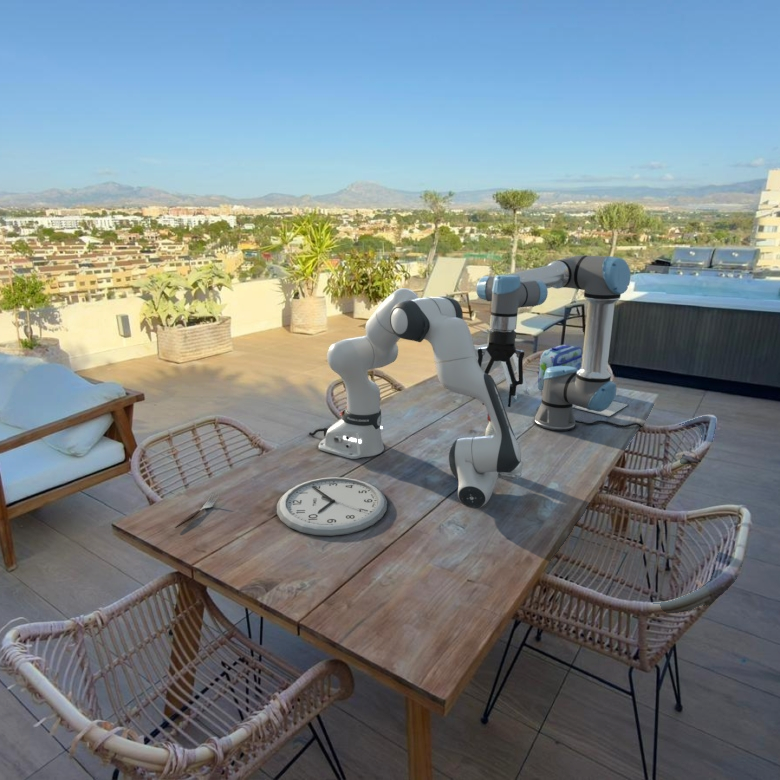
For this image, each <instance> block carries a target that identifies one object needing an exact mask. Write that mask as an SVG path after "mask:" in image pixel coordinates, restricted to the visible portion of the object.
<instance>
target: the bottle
mask: <svg viewBox="0 0 780 780" xmlns="http://www.w3.org/2000/svg"><path fill="white" fill-rule="evenodd" d="M494 434H495V431H494V428H493V426H492V423H491V422H490V421H488V424H487V426H486V428H485V435H484V436H490V435H494Z"/></svg>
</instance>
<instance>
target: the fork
mask: <svg viewBox="0 0 780 780" xmlns="http://www.w3.org/2000/svg"><path fill="white" fill-rule="evenodd" d="M219 496H220V494H218V493H213V492H212V493H211V494H210V497H208V500H207V501H206V502H205V503H204V504H203V505H202V507H201V508H200V509H198V510H196V511H194V512H193V513H191V514H189V515H188V516H187V517H185V518H184V519H183V520H182V521H181V522H179V523H178V524H177V525H175V527H174V528H175V529H177V528H179V527H180V526H182V525H184V524H185V523H187V522H189V521H190V520H192V519H194V517H196V516H197V515H198V514H199V513H201V511H203V510H204V509H210V508H212V507H213V506H214V505H215V504H216V502H217V500H218V498H219Z"/></svg>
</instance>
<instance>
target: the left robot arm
mask: <svg viewBox="0 0 780 780" xmlns="http://www.w3.org/2000/svg"><path fill="white" fill-rule="evenodd" d="M463 317H464V312H463V308H462V306H461V304H460V303H459V301H458V300H456V299H455V298H452V297H449V296H426V297H419V296H418V294H417V293H416V292H414V291H413V290H412V289H410V288H405V287H402V288H398V289H396V290H395V291H393V292H391V294H390V295H388V296H387V297H386V298H385V299H384V300H383V301H381V303H380V305H379V306H377V308H376V309H375V311H374V312H373V313H372V314H371V316H370V317H369V318H368V319H367V321H366V323H365V326H364V327H365V335H363V336H358V337H350V338H344V339H341V340H339V341H337V342H334V343H332V344H330V346H329V348H328V349H327V353H326V360H327V364H328V366H329V367H330V369H331V370H332V371H333V372H334V373H335V374H336V375H338V376H339V378H341V379H342V382H343V384H344V387H345V395H346V406H345V408H343V409H342V411H341V412H340V413H339V414H340V415H339V417H342V418H340V419H339V420H337V421H336V422H335V423H333V424H328V425H327V426H325V427H323V428H316V429H314V430H313V432H312V431H311V432H309V433H308V435H309V436H311V437H313V436H315V435H316V434H317V433H318V432H323V437H324V438H323V439H321V441H320V442H319V443H318V451H322V452H326V453H328V454H333V455H336V456H339V457H343V458H347V459H350V460H358V459H360V458H367V457H369V458H370V457H374V456H377V455H380V454H381V453H382V452H384V450H385V446H384V442H383V438H382V432H381V430H383V426H382V409H381V389H380V387H379V386H378V384H377V383H376V382H374V381H373V380H370V379H369V375H368V371H370V370H375V369H380V368H383V367H386V366H389V365H391V364H392V363H394V362H395V361H396V360H397V358H398V356H399V346H398V342H399V340H400V339H403V340H406V341H412V342H416V343H422V342H423V341H424V340H426V341H427V342H428V343H429V344H430V345H431V348H432V351H433V359H434V365H435V372H436V375H437V379H438V381H439V383H440V384H441V385H442V386H443V387H444V388H445V389H447V390H449V391H450V392H453V393H455V394H459V395H463V396H467V397H472V398H474V399H476V400H478V401H480V402H481V403H482V404H484V407H485V408H486V411H487V415H488V414H489V417H490V420H491V423H492V426H493V428H494V431H495V434H494V435H490V436H485V435H480V436H467V437H460V438H456V440H454V442H453V443H452V445H451V447H450V450H449V453H448V463H449V464H448V465H449V468H450V471H451V473H452V477H453V478H454V479H456V481H458V486H457V487H458V488H457V497H458V500H459V502H460V503H461V504H462V505H464V506H465V507H467V508H470V509H471V508H472V509H478V508H482V507H483V506H485V505H486V504H487V503H488V502H489V500H490V498H491V497H492V495H493V492H494V489H495V486H496V484H497V481H498V479H504V480H510V481H514V480H515V481H516V480H517V479H521V477H522V473H523V465H524V464H523V461H522V451H521V447H520V445H519V443H518V440H517V438H516V435H515V433H514V431H513V429H512V426H511V423H510V419H509V417H508V415H507V411H506V408H505V405H504V402H503V399H502V397H501V394H500V392H499V389H498V387H497V384H496V382H495V380H494V378H493V376H492V375H491V374H490V373H489V374H486V373H484V371H483V370H482V369H481V367H480V366H479V364H478V361H477V357H476V352H475V347H474V346H475V343H474V340H473V336H472V333H471V330H470V327H469V325H468V323H467V321H466V320H464V318H463ZM471 356H472V357H471Z"/></svg>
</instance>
